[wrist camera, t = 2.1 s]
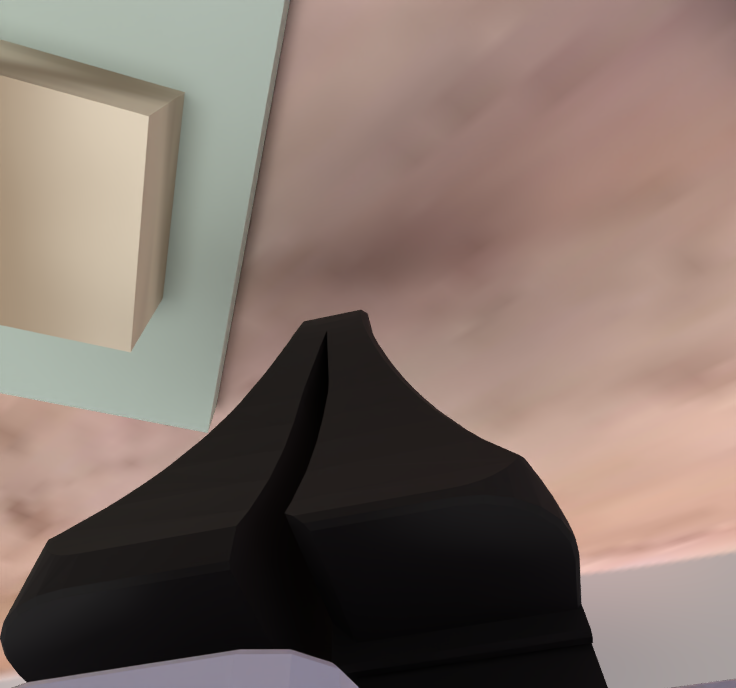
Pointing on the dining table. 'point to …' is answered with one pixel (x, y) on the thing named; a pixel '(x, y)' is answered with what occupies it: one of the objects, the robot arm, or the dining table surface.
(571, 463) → the dining table surface
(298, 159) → the dining table surface
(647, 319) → the dining table surface
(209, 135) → the far plate
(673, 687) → the robot arm
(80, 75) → the birch tile
